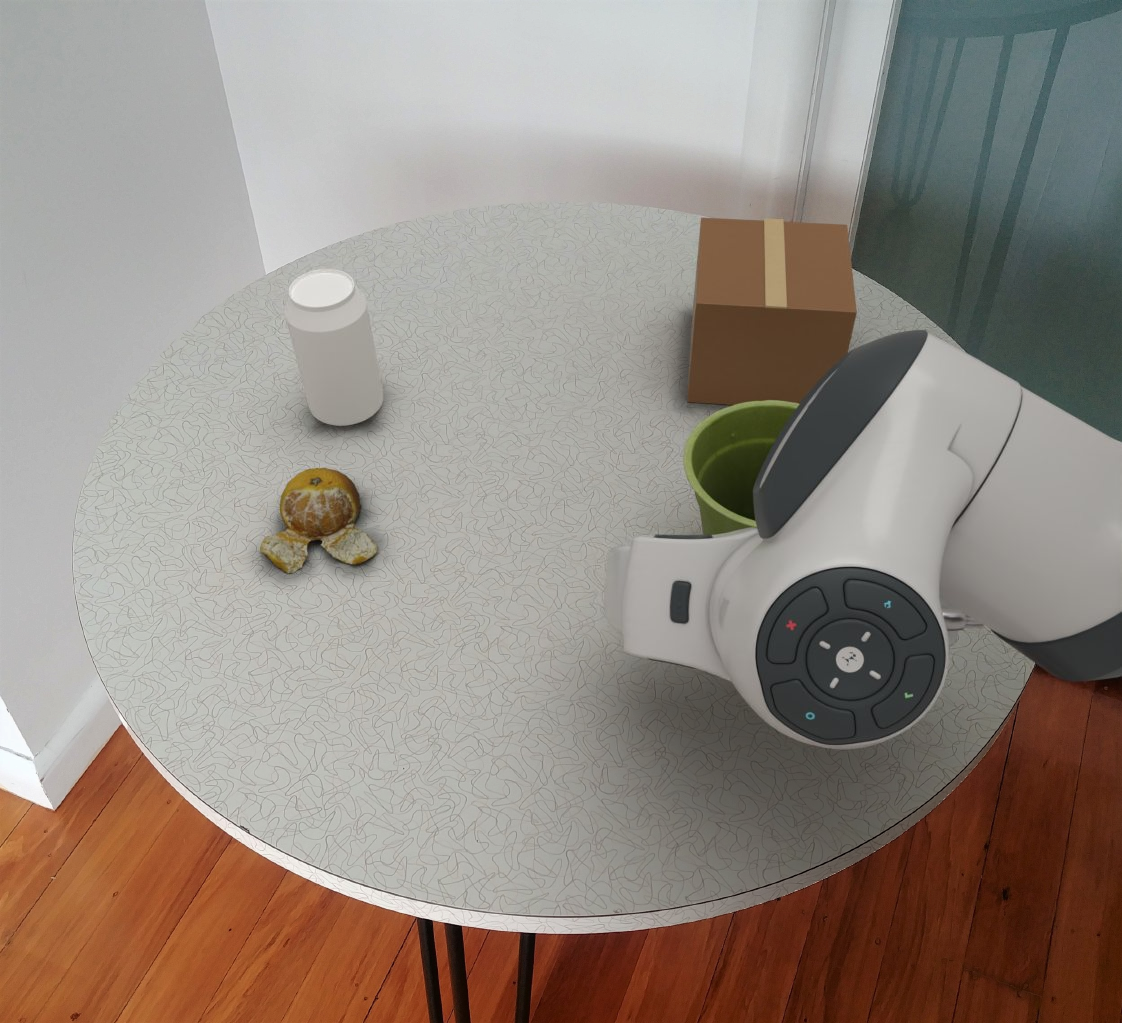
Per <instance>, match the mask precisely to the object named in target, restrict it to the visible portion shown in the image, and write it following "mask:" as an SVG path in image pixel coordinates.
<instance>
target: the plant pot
mask: <svg viewBox="0 0 1122 1023" xmlns="http://www.w3.org/2000/svg"><path fill="white" fill-rule="evenodd" d="M798 406H799V404H798V403H793V402H786V401H778V400H765V401H752V402H745V403H740V404H736V405H729V406H727V407H725V408H722V409H719V410H717V411H715V412H713V413H712V414H711V415H709V416H707V417H705V419H703V420H702V421H700V422H699V423H698V424H697V426H696V427H694V429H693V430H692V431H691V433H690V434H689V436H688V438H687V440H686V442H685V445H684V449H683V455H682V461H683V470H684V473H685V476H686V479H687V481H688V483H689V485H690V487H691V488H692V490H693V491H694V498H695V500H696V503H697V505H698V507H699V508H698V509H699V513H700V514H699V515H700V521H701V528H702V534H710V535H717V534H723V533H728V532H733V531H737V530H741V529H745V528H751V527H754V528H757V525H756V520H755V514H754V502H753V488H754V485H755V482H756V479H757V477H758V475H759V472H760V470H761V468H762V466H763V464H764V462H765V460H766V457H767V456H768V454H769V452H770V450H771V448H772V446H773V444H774V442H775V441H776V439H777V437H778V436H779V434H780V432H781V431H782V429H783V427H784V426H785V424H786V423H787V421H788V420H789V418H790V417H791V415H792V414H793V412H794V411H795V410H796V408H797V407H798Z"/></svg>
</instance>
